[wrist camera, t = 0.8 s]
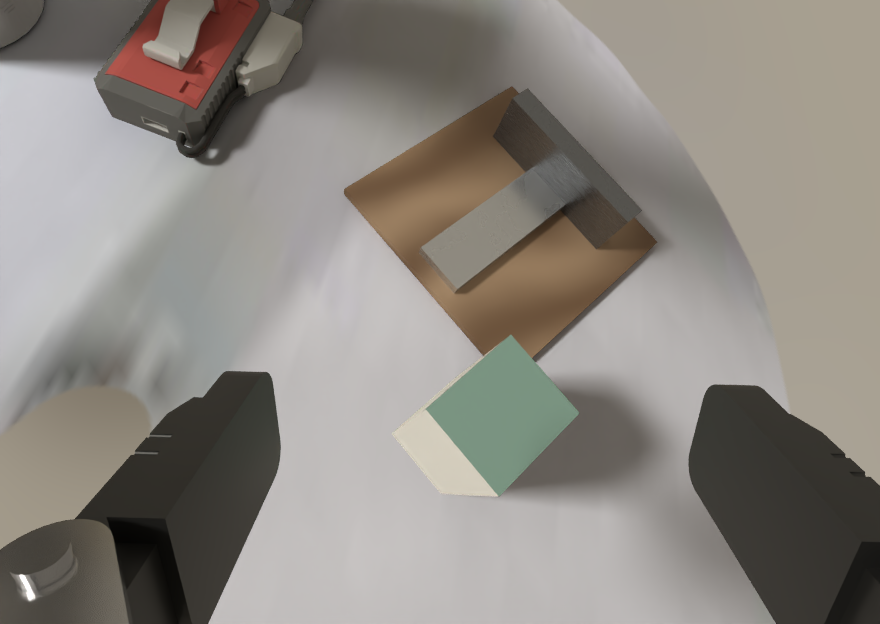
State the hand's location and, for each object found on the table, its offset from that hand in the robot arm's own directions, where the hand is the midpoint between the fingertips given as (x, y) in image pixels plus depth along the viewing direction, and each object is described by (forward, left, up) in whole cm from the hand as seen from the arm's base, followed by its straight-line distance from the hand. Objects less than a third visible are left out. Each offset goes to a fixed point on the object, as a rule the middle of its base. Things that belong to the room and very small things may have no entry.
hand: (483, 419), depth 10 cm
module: (+2, +4, -21) cm, 21 cm away
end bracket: (-6, +22, -21) cm, 31 cm away
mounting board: (-6, +17, -21) cm, 28 cm away
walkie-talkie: (-28, +10, -21) cm, 37 cm away
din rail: (-6, +17, -21) cm, 28 cm away
